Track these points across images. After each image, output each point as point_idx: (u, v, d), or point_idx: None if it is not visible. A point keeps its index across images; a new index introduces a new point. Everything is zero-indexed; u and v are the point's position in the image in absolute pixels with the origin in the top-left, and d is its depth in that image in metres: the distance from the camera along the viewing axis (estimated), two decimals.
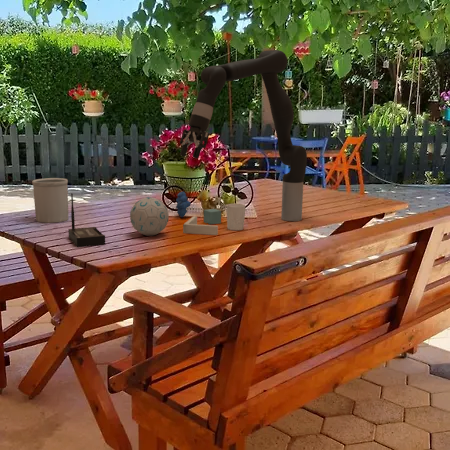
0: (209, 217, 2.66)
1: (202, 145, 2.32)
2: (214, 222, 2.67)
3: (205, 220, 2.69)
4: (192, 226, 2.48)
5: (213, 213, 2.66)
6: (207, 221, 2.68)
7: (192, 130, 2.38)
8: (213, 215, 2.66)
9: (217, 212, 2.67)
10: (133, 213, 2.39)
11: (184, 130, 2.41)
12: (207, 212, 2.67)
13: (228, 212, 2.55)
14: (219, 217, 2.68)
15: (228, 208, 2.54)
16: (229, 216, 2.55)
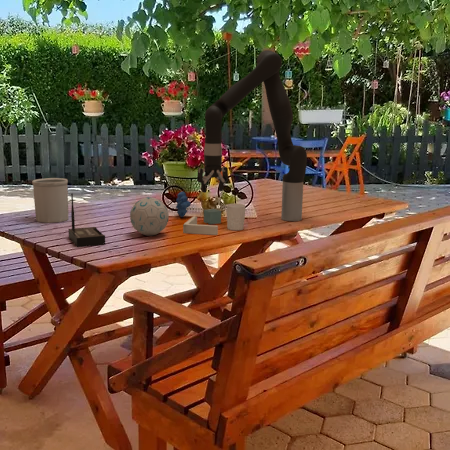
0: (209, 217, 2.66)
1: (198, 180, 2.62)
2: (214, 222, 2.67)
3: (205, 220, 2.69)
4: (192, 226, 2.48)
5: (213, 213, 2.66)
6: (207, 221, 2.68)
7: None
8: (213, 215, 2.66)
9: (217, 212, 2.67)
10: (133, 213, 2.39)
11: None
12: (207, 212, 2.67)
13: (228, 212, 2.55)
14: (219, 217, 2.68)
15: (228, 208, 2.54)
16: (229, 216, 2.55)
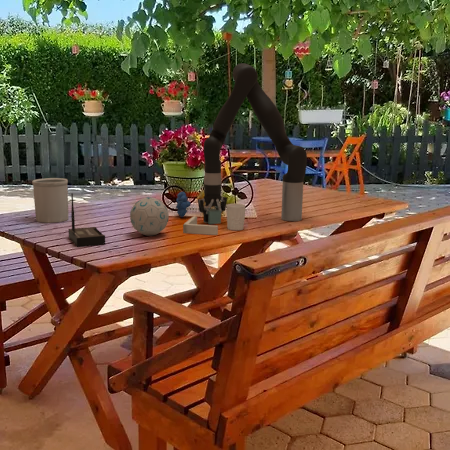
0: (209, 216, 2.66)
1: (200, 211, 2.66)
2: (214, 222, 2.67)
3: None
4: (192, 226, 2.48)
5: (213, 213, 2.66)
6: None
7: None
8: (213, 214, 2.66)
9: (217, 212, 2.67)
10: (133, 213, 2.39)
11: None
12: None
13: (228, 212, 2.55)
14: (219, 217, 2.68)
15: (228, 208, 2.54)
16: (229, 216, 2.55)
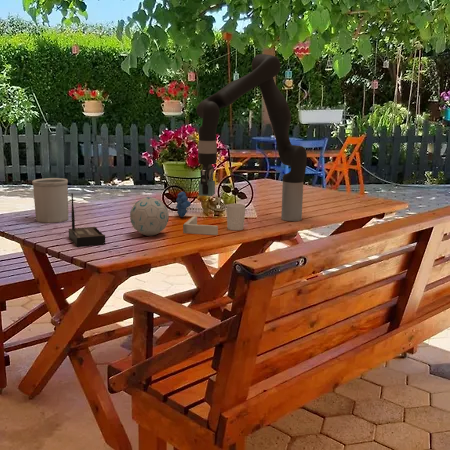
0: (210, 188, 2.48)
1: (202, 183, 2.45)
2: (213, 193, 2.51)
3: None
4: (192, 226, 2.48)
5: (212, 183, 2.49)
6: None
7: None
8: (212, 185, 2.50)
9: (214, 182, 2.51)
10: (133, 213, 2.39)
11: None
12: None
13: (228, 212, 2.55)
14: (214, 187, 2.53)
15: (228, 208, 2.54)
16: (229, 216, 2.55)
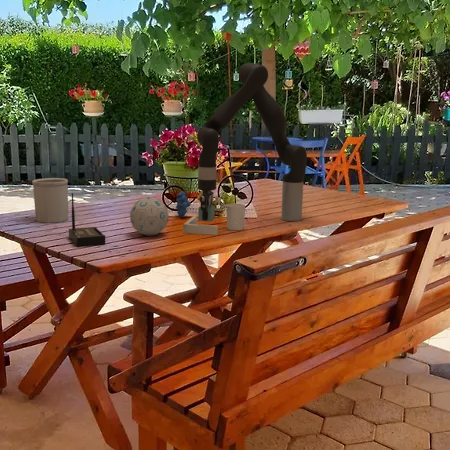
0: (209, 213, 2.50)
1: (202, 209, 2.47)
2: (212, 218, 2.53)
3: None
4: (192, 226, 2.48)
5: (212, 209, 2.51)
6: None
7: None
8: (212, 211, 2.52)
9: (213, 208, 2.53)
10: (133, 213, 2.39)
11: None
12: None
13: (228, 212, 2.55)
14: (214, 213, 2.55)
15: (228, 208, 2.54)
16: (229, 216, 2.55)
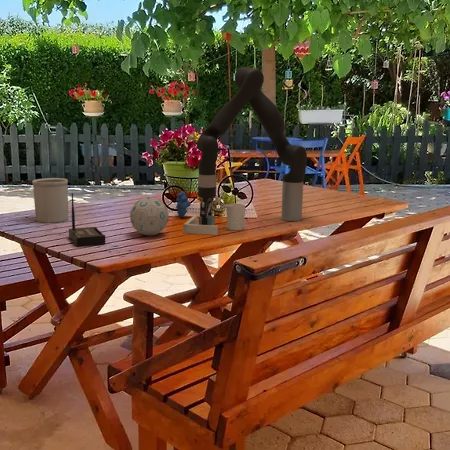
0: (209, 223, 2.51)
1: (201, 215, 2.47)
2: None
3: None
4: (192, 226, 2.48)
5: (212, 219, 2.52)
6: None
7: None
8: (212, 220, 2.53)
9: (213, 217, 2.54)
10: (133, 213, 2.39)
11: None
12: None
13: (228, 212, 2.55)
14: (214, 222, 2.56)
15: (228, 208, 2.54)
16: (229, 216, 2.55)
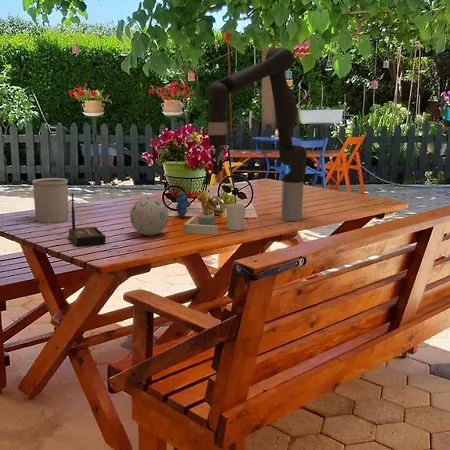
0: (209, 223, 2.51)
1: (212, 162, 2.48)
2: None
3: None
4: (192, 226, 2.48)
5: (212, 219, 2.52)
6: None
7: None
8: (212, 220, 2.53)
9: (213, 217, 2.54)
10: (133, 213, 2.39)
11: None
12: (206, 219, 2.51)
13: (228, 212, 2.55)
14: (214, 222, 2.56)
15: (228, 208, 2.54)
16: (229, 216, 2.55)
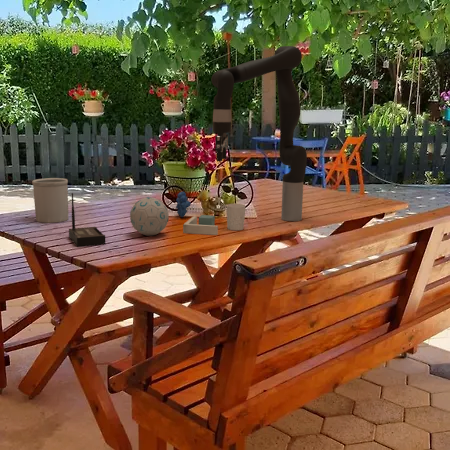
0: (209, 223, 2.51)
1: (217, 149, 2.49)
2: None
3: None
4: (192, 226, 2.48)
5: (212, 219, 2.52)
6: None
7: None
8: (212, 220, 2.53)
9: (213, 217, 2.54)
10: (133, 213, 2.39)
11: None
12: (206, 219, 2.51)
13: (228, 212, 2.55)
14: (214, 222, 2.56)
15: (228, 208, 2.54)
16: (229, 216, 2.55)
